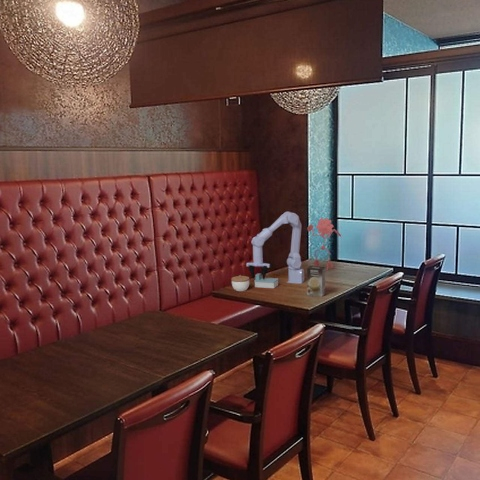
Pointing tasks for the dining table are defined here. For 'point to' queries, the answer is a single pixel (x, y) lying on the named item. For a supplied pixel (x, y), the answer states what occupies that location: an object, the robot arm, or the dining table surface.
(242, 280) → the lidded jar
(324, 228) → the red flower sprig
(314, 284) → the coffee box
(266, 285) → the tub
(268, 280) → the lid
